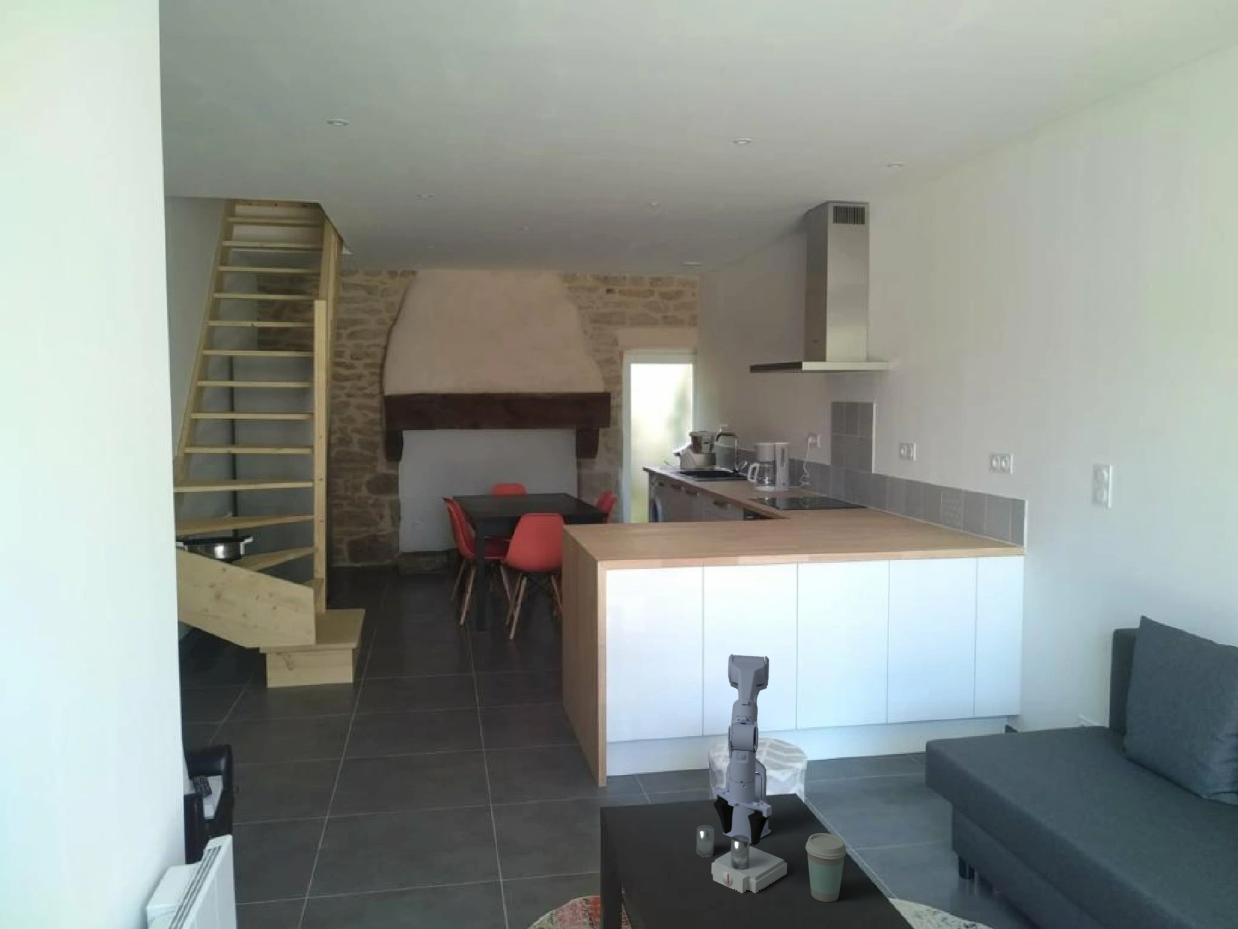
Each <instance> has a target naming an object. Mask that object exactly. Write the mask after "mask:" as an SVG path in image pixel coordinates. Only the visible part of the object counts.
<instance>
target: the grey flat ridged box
mask: <svg viewBox="0 0 1238 929" xmlns="http://www.w3.org/2000/svg"><path fill="white" fill-rule="evenodd" d="M787 871H788V863H787V862H785V859H783V858H781V857H778V856H776V855H773V854H771V853H768V852H765V851H763V850H760V849H758V848H756V847H753V846H751V845H749V868H747V869H745V870H737V869H734V868H733V867H732V866H731V850H730V851H728V852H726V853H725V854H723V855H721V856H719V857H717V858H716V859H714V861H713V862H711V875H712V880H713V881H714V882H716V883H719V884H721V885H723V886H725V887H727V888H729V889H732V890H734V889H735V890H734V891H736V890H737V892H739V893H740V894H744V893H745V892H747V891H749V890H750V891H749V892H751V891H752V892H751V893H754V894H757V893H758V892H760V891H761V889H762V890H763V889H765V888H766V887H768V886H769V884H770V885H771V884H773V883H774V882H776V881H777V880H779V879H781V878H782V877H785V875H787V874H788V872H787ZM746 890H747V891H746ZM759 890H760V891H759Z"/></svg>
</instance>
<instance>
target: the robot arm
mask: <svg viewBox="0 0 1238 929" xmlns="http://www.w3.org/2000/svg"><path fill="white" fill-rule="evenodd" d="M769 675H770V659H769V657H768V656H767V655H765V656H759V655H758V656H757V655H739V654H733V653H731V654H730V655H729V656H728V662H727V678H728V682H729V684H730V687H731V688H735V689H736V690H737V693H738V694H737V695H738V696H737V698H738V699H736V700H734V702H733V704H732V711H731V720H730V721H731V722H730V723H731V724H730V725H729V726H728V728H727V730H728V731H727V747H728V759H729V763H728V765H727V766H726V773H725V788H724V787H721V786H717V787H716V788H713V790H712V797H713V798H714V799H716V801H714V802H713V807H714V808H715V810H716V812H717V815H718V817H719V819H720V822H721V828H722V834H723V835H724V836H726V837H729V838H732V837H733V836H735V835H744V836H747V837H748V838H749V839H750V844H749V845H752V846H756V845H758V844H759V843H760V842H761V841H760V840H761V838H763V837H765V836H767V835H768V834H770V833H771V832H772V830H771V829H769V818H770V817H771V815H772V813H773V811H772V810H773V806H772V805H771V804H769V803H768V801H767V799H766V798H767V785H768V784H767V782H768V780H767V777H768V776H767V768H766V766H765V765H764V764H763V763H762V762H761V761H760V760H758V758H757V753H758V748H759V727H758V726H759V725H758V714H759V713H758V712H759V708H758V697H759V695H760V693H761V692H760V691H763V690H766V689H768V687H769V686H768V685H769V679H770V678H769V677H770V676H769Z"/></svg>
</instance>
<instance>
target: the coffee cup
mask: <svg viewBox="0 0 1238 929" xmlns="http://www.w3.org/2000/svg"><path fill="white" fill-rule="evenodd" d="M805 851H806V852H807V863H808V874H809V875H808V876H809V883H810V884H809V885H810V894H811V896H812V898H814V899H815V900H817V901H819V902H823V903H831V902H836V901H837V900H839V896H840V891H841V890H840V889H841V885H842V884H841V883H842V876H843V870H844V863H845V856H846V855H847V847H846V845H845V842H844V840H843V839H842V838H841V837H839V836H837V835H835V834H832V833H825V832H820V833H819V832H818V833H814V834H810V836H809V837H808V838H807V842H806V844H805Z"/></svg>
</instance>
